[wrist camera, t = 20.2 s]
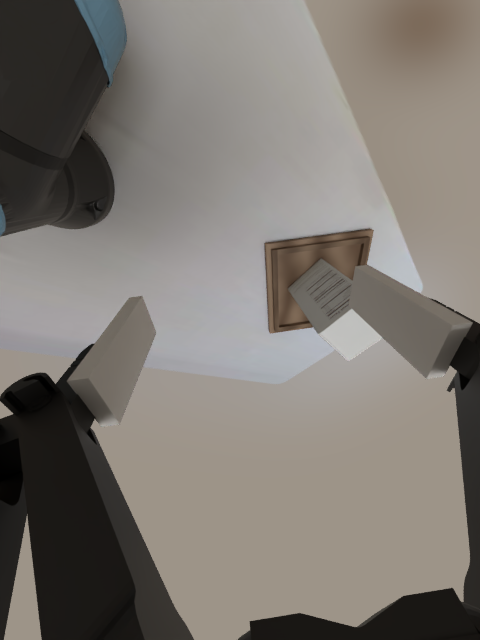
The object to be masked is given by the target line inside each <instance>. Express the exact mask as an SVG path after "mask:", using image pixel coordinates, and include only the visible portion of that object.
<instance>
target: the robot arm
mask: <svg viewBox="0 0 480 640" xmlns="http://www.w3.org/2000/svg"><path fill="white" fill-rule="evenodd" d="M126 41H127V35H126V26H125V21H124V17H123V12H122V9H121V6H120V4H119V1H118V0H0V237H1V236H5V235H9V234H12V233H16V232H20V231H24V230H28V229H32V228H36V227H40V226H43V225H47V224H48V225H52V226H56V227H60V228H66V229H81V228H86V227H89V226H92V225H95V224H97V223H98V222H100V221H101V220H103V219H104V218H105V217H106V216H107V214H108V213H109V211H110V209H111V207H112V204H113V200H114V182H113V177H112V173H111V170H110V167H109V165H108V163H107V160H106V158H105V157H104V155H103V153H102V152H101V150H100V149H99V147H98V146H97V144H96V143H95V142H94V141H93V140H92V139H91V137H90V136H89V135H88V134H87V133H86V132H84V131H83V130H84V128H85V126H86V125H87V123H88V121H89V119H90V117H91V115H92V113H93V111H94V109H95V107H96V106H97V104H98V102H99V100H100V98H101V96H102V94H103V92H104V90H105V89H106V87H110V86H111V85H112V82H113V73H114V71H115V69H116V67H117V65H118V62H119V60H120V58H121V56H122V54H123V52H124V49H125V46H126ZM349 307H350V308H351V309H353V310H354V311H355V312H356V313H357V314H358V315H359V316H360V317H361V318H362V319H363V320H364V321H365V322H366V323H367V324H369V325H370V326H371V327H372V328H373V329H374V330H375V331H376V332H377V333H378V334H379V335H380V336H381V337H382V338H383V339H385V340H386V341H387V342H388V343H389V344H390V345H391V346H392V347H393V348H394V349H395V350H396V351H397V352H398V353H400V354H401V355H402V356H403V357H404V358H405V359H406V360H407V361H408V362H409V363H410V364H411V365H412V366H413V367H414V368H416V369H417V370H418V371H419V372H420V373H421V374H422V375H423V376H424V377H425V378H426V379H428V378H435V377H442V376H444V375H445V373H446V372H447V370H448V368H449V366H452V367H453V368H454V369H455V370H457V373H456V374H455V376H454V378H453V380H452V381H451V383H450V385H449V387H448V389H447V391H449V392H450V391H451V390H452V388H455V394H456V406H457V416H458V427H459V438H460V449H461V459H462V470H463V482H464V491H465V503H466V514H467V525H468V535H469V547H470V565H469V569H468V571H467V575H466V577H465V582H464V602H461V601H460V600H459V598H458V596H457V595H456V593H455V591H454V589H453V588H450V589H444V590H437V591H431V592H425V593H419V594H413V595H407V596H403V597H401V598H400V599H398V600H396V601H395V602H393V603H392V604H390V605H388V606H387V607H385V608H383V609H382V610H380V611H379V612H377V613H376V614H374V615H373V616H371V617H370V618H369V619H367V620H366V621H365V622H363V623H362V624H360V625H359V626H358V627H352V626H348V625H344V624H340V623H336V622H332V621H328V620H325V619H321V618H316V617H313V616H309V615H305V614H301V613H298V614H292V615H286V616H280V617H274V618H268V619H261V620H255V621H250V631H248V632H247V633H246V634H244V635H242V636H241V637H240V638H239V639H238V640H480V324H479V323H477V322H475V321H474V320H472V319H470V318H468V317H466V316H464V315H462V314H461V313H459V312H457V311H454V310H453V309H451V308H449V307H446V305H444V304H442V303H440V302H438V301H436V300H433V299H430V298H427V297H425V296H423V295H421V294H420V293H418V292H416V291H414V290H413V289H411V288H409V287H407V286H405V285H403V284H402V283H400V282H398V281H396V280H394V279H392V278H391V277H389V276H387V275H385V274H383V273H382V272H380V271H378V270H376V269H374V268H372V267H371V266H369V265H363V266H355V271H354V277H353V283H352V288H351V294H350V300H349ZM155 335H156V331H155V328H154V325H153V323H152V320H151V318H150V315H149V312H148V310H147V307H146V305H145V302H144V299H143V297H142V296H138V297H131V298H129V299H128V300H127V302H126V303H125V304H124V306H123V307H122V308H121V310H120V311H119V312H118V314H117V315H116V316H115V318H114V319H113V320H112V322H111V323H110V324H109V326H108V327H107V328H106V330H105V331H104V332H103V334H102V335H101V336H100V338H99V339H98V340H97V342H96V343H95V344H91V345H90V346H88V347H87V348H86V349H84V350H83V351H82V352H81V353H80V354H79V356H78V357H77V358H76V361H74V362H73V363H72V364H71V367H69V368H68V369H67V371H66V372H65V373H64V374H63V376H62V377H61V378H60V379H59V381H58V382H57V383H56V384H55V383H54V382H53V381H52V379H51V378H50V377H49V376H48V375H47V374H46V373H36V374H32V375H29V376H26V377H24V378H22V379H20V380H18V381H17V382H15V383H13V384H12V385H11V386H10V387H8V388H7V389H6V390H5V391H4V392H3V393H2V394H1V396H0V401H1V402H2V403H3V404H4V405H5V406H6V407H7V408H8V409H9V410H10V411H11V412H13V413H14V414H13V415H10V416H7V417H4V418H2V419H0V640H4V635H5V629H6V624H7V618H8V613H9V608H10V602H11V597H12V592H13V586H14V581H15V575H16V570H17V565H18V559H19V554H20V548H21V543H22V538H23V533H24V527H25V522H26V516H27V514H28V524H29V533H30V542H31V550H32V558H33V568H34V576H35V585H36V594H37V602H38V611H39V620H40V629H41V637H42V640H194V639H193V637H192V635H191V633H190V631H189V630H188V628H187V626H186V624H185V623H184V621H183V620H182V618H181V617H180V615H179V614H178V612H177V610H176V609H175V607H174V605H173V603H172V600H171V599H170V596H169V594H168V592H167V590H166V588H165V585H164V583H163V581H162V579H161V577H160V574H159V572H158V570H157V568H156V566H155V564H154V561H153V560H152V557H151V555H150V553H149V551H148V548H147V546H146V544H145V542H144V540H143V538H142V535H141V533H140V531H139V529H138V527H137V524H136V522H135V520H134V518H133V516H132V514H131V511H130V509H129V507H128V505H127V503H126V501H125V499H124V496H123V494H122V492H121V490H120V487H119V485H118V483H117V481H116V479H115V477H114V474H113V472H112V470H111V468H110V466H109V464H108V461H107V459H106V457H105V455H104V453H103V450H102V448H101V447H100V444H99V442H98V440H97V437H96V435H95V433H94V431H93V430H92V429H91V428H90V427H91V425H92V423H93V421H94V419H96V421H97V422H98V423H99V425H100V426H101V427H105V426H111V425H118V424H120V422H121V420H122V417H123V415H124V412H125V410H126V407H127V405H128V402H129V400H130V397H131V395H132V392H133V390H134V387H135V385H136V382H137V380H138V377H139V375H140V372H141V370H142V367H143V365H144V362H145V360H146V357H147V355H148V352H149V350H150V347H151V345H152V342H153V340H154V337H155Z"/></svg>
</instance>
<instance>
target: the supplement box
mask: <svg viewBox="0 0 480 640" xmlns="http://www.w3.org/2000/svg"><path fill="white" fill-rule="evenodd" d="M352 283H353V281H352V280H351V279H349V278H348V277H346V276H345V275H344V274H342V273H341V272H340V271H338V270H337V269H335V268H334V267H333V266H331V265H330V264H329V263H327V262H326V261H324V260H323V259H322V258H321V259H320V260H319V261H318V262H316V263H315V264H314V265H313V266H312V267H311V268H310V269H309V270H308V271H306V272H305V273H304V274H303V275H302V276H301V277H300V278H299V279H298V280H296V281H295V282H294V283H293V284H292V285H291V286H290V287H289V288H288V290H289V292H290V293H291V295H292V296H293V298H294V299H295V301H296V302H297V304H298V305H299V307H300V308H301V310H302V311H303V312H304V314H305V315H306V317H307V318H308V320H309V321H310V323H311V324H312V326H313V327H314V329H315V330H316V332H317V333H318V335H320V336H321V337H322V338H323V339H324V340H325V341H326V342H327V343H328V344H329V345H331V346H332V347H333V348H334V349H335V350H336V351H337V352H338V353H339V354H340V355H342V357H344V358H345V359H346V360H347V361H350V360H351V359H353V358H354V357H356V356H357V355H359V354H360V353H362V352H363V351H365V350H366V349H367V348H369V347H370V346H372V345H373V344H375V343H376V342H378V341H379V340H381V339H382V337H381V336H380V335H379V334H378V333H377V332H376V331H375V330H374V329H373V328H372V327H371V326H370V325H369V324H367V323H366V322H365V321H364V320H363V319H362V318H361V317H360V316H359V315H358V314H357V313H356V312H355V311H354V310H353V309H351V308H350V307H349V300H350V294H351V288H352Z"/></svg>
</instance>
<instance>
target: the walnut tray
mask: <svg viewBox="0 0 480 640" xmlns="http://www.w3.org/2000/svg"><path fill="white" fill-rule="evenodd" d="M373 231H374V230H372V229H365V230H358V231H351V232H343V233H336V234H328V235H321V236H314V237H306V238H299V239H292V240H284V241H277V242H269V243H265V260H266V280H267V301H268V321H269V332H270V333H276V332H283V331H290V330H297V329H304V328H311V327H313V326H312V324H311V323H310V321H309V320H308V318H307V317H306V315H305V314H304V312H303V311H302V310H301V308H300V307H299V305H298V304H297V302H296V301H295V299H294V298H293V296H292V295H291V293H290V292H289V290H288V288H289V287H290V286H291V285H292V284H293V283H294V282H295V281H296V280H298V279H299V278H300V277H301V276H302V275H303V274H304V273H305V272H306V271H308V270H309V269H310V268H311V267H312V266H313V265H314V264H315V263H316V262H318V261H319V260H320V259H321V258H322V259H323V260H324V261H326V262H327V263H329V264H330V265H331V266H333V267H334V268H335V269H337V270H338V271H340V272H341V273H342V274H344V275H345V276H346V277H348V278H349V279H351V280H352V281H353V277H354V271H355V266H363V265H367V261H368V256H369V251H370V246H371V241H372V236H373Z"/></svg>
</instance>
